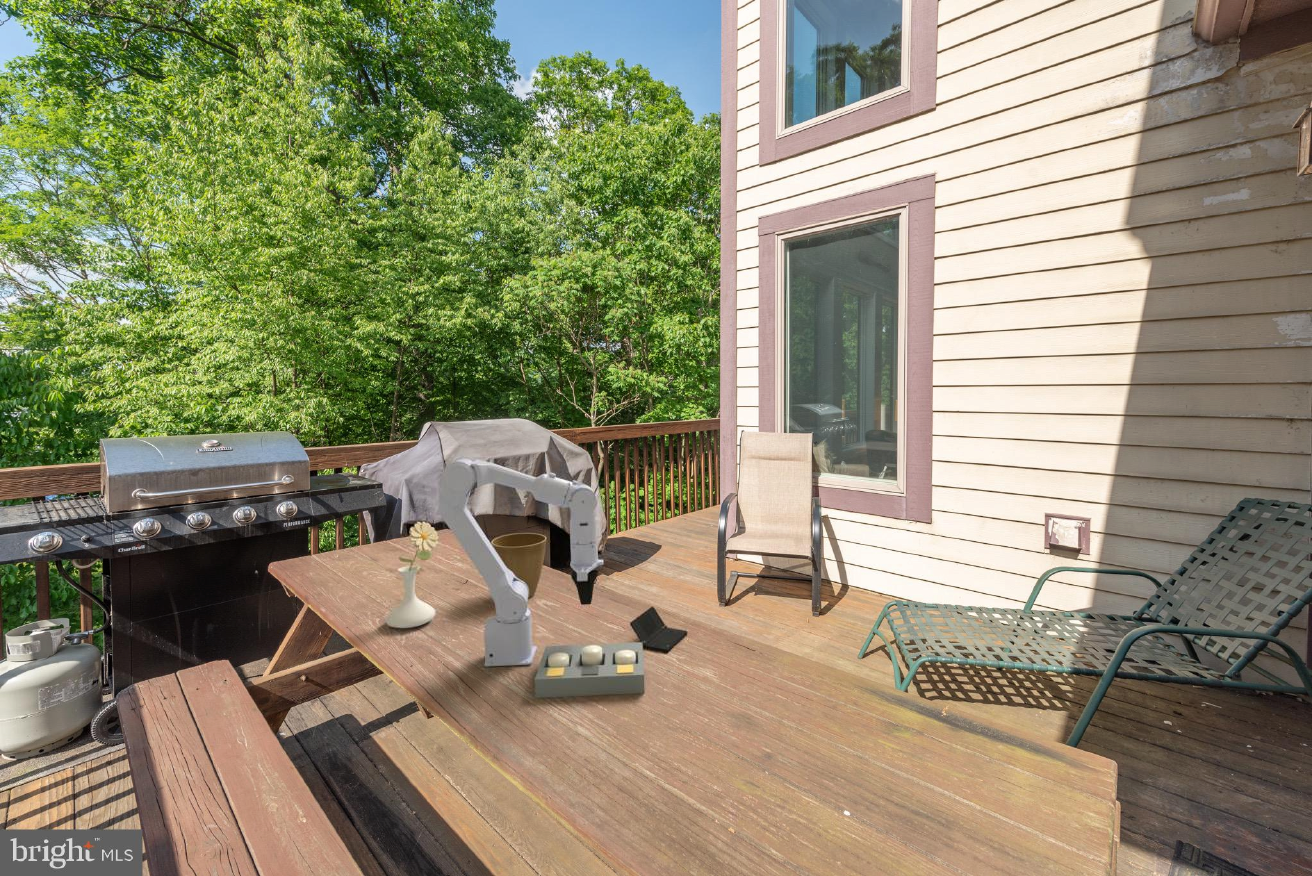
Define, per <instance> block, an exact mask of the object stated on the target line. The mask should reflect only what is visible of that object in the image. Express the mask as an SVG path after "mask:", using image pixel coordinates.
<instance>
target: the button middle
mask: <svg viewBox="0 0 1312 876" xmlns="http://www.w3.org/2000/svg"><path fill="white" fill-rule="evenodd" d="M581 652H582V666H594V665H602V648H601V647H600V646H597V645H590V646H586V647H584V648H582V650H581Z"/></svg>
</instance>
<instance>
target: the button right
mask: <svg viewBox="0 0 1312 876" xmlns="http://www.w3.org/2000/svg"><path fill="white" fill-rule="evenodd" d="M617 664H636V655H635V652H634V651H631V650H621V651H618V652H617V653H616V654H615V665H617Z"/></svg>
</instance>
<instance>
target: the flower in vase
mask: <svg viewBox="0 0 1312 876" xmlns="http://www.w3.org/2000/svg"><path fill="white" fill-rule="evenodd" d="M438 535H439V534H438V532H437V530H435V527H432V526H431V524H430V523H428V522H425V521H422V522H420V521H417V522H416V523H414V525H413V526H411V527H410V528H409V535H408V537H409V539H410V541H409V542H410V544H412V547H414V548H415V549H416V552H415V555H414V556H413V560H412V559H410V558H404V557H401V556H399V557H398V559H399V561H400V562H402V563H403V562H404V563H410V565H406V566H403V567H400V568H397V572H398V574H399V575H400V576H401V577H402V580H403V581H402V582H403V586H404V597H403V599H402V601H401V602H400V603H398V605H396V606H395V607H394V608H393V609H392V610H391V611H390V612H389V613H388V614H387V616H386V617H385V623H386V624H387V625H388V627H391V628H397V629H408V628H409V629H410V628H416V627H418V626H419V627H420V626H422V625H425V624H427V623H428V622H430V621H432V620H433V619H434V618H435V616H436V610H435V608H433V607H432V606H431V605H430V604H428V603H426V602H424V601H423V600H420V599H419V598H418V597H417V595H416V592H415V591H416V589H415V585H416V584H415V583H416V576H417V573H418V571H419V570H420V566H419V565H413V564H414V562H415V560H416V557H417V558H418V559H420V560H421V561H427V560H429V559H430V558H432V557H433V553H431V552H432V550H433V548H436V547H437V545H438V544H439V542H438V541H439V536H438Z"/></svg>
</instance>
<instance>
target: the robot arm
mask: <svg viewBox="0 0 1312 876" xmlns="http://www.w3.org/2000/svg"><path fill="white" fill-rule="evenodd" d="M556 476H557V475H556V473H555V472H554V473H553V472H549V474H546V473H543V474H541V475H539V476H537V477H535V476H532V475H529V474H526V473H524V472H520V471H517V470H514V469H512V468H508V467H506V466H502V465H499V464H497V463H493V462H489V461H485V460H482V459H475V460H474V458H471V457H467V456H466V457H465V456H464V457H463V456H461V457H459V458H456V459H455V460H454V461H453V462H450V463H448V464H447V465H446V466H445V467H444V468H443V470H442V472H441V475H440V477H439V479H438V482H437V486H438V512H439V515H440V516H441V518H442V520H443V521H444V522H445V524H446V525H447V528H449V530H450V531H451V533H452V534H453V536H454V537H455V539H456V540H457V541H458V543H459V544H460V546H461V548H462V549H463V550H464V552H465V553H466V555H467V556H468V558H469V559H470V561H471V563H472V564H473V565H474V567H475V568H476V570H477V571H478V572H479V574H480V576H481V577H482V579H483V580H484V582H485V583H486V585H487V588H488V591H489V592H488V593H489V595H490V597H491V599H492V601H493V602H494V605H495V613H496V614H495V616H490V617H487V619H486V620H485V624H484V633H483V635H484V637H483V638H484V660H485V662H484V666H485V667H499V666H501V667H502V666H503V667H504V666H527V665H531V664H532V662H533V659H534V658H535V655H536V653H537V648H538V646H536V645H533V634H532V633H533V632H532V613H531V612H532V611H531V610H530V609H529V608H528V599H529V598H528V596H529V589H528V586H527V585H526V584H525V582H523V581H521V580H520V579H518V578H517V577H516V576H515V575H514V573H513V572H512V571H511V570H509V569H508V568H507V567H506V566H505V564H504V563H503V561H502V560H501V558H500V557H499V555H498V554H497V552H496V551H495V549H494V548H493V546H492V544H491V542H490V540H489V539H488V538H487V535H485V533H484V532H483V530H482V528H481V527H480V525H479V524H478V522H477V521H476V519H475V518H474V517H473V515H472V513H471V512H470V511H469V509H468V507H467V505H468V502H469V498H470V495H471V491H472V490H473V488H474V486H477V488H478V487H481V486H486V485H489V484H490V485H491V484H492V483H493V484H498V485H502V486H505V487H510V488H513V489H518V490H522V491H526V492H530V493H531V494H532V496H533V498H534V499H535V501H539V502H542V503H546V504H548V505H552V506H556V507H559V508H563V509H565V508H569V510H570V520H569V539H570V542H569V543H570V562H569V563H570V568H571V569H572V570H571V573H570V578H571V580H572V582H573V583H574V585H575V587H576V590H577V595H578V599H579V602H580V605H583V606H585V605H586V606H587V605H588V606H589V605H592V600H593V593H594V585H595V583H596V580H597V578H598V575H599V567H598V566H603V565H604V559H599V553H598V550H599V549H598V526H597V525H598V523H597V519H596V516H597V511H596V509H597V506H598V499H597V496H596V493H595V491H594V490H593V489H592V487H591V486H589V485H587V484H585V483H584V482H578V481H577V480H575V479H573V480H572V481H570V480H568V479H567V480H566V479H562V478H560V477H556ZM476 483H477V484H476Z"/></svg>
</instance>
